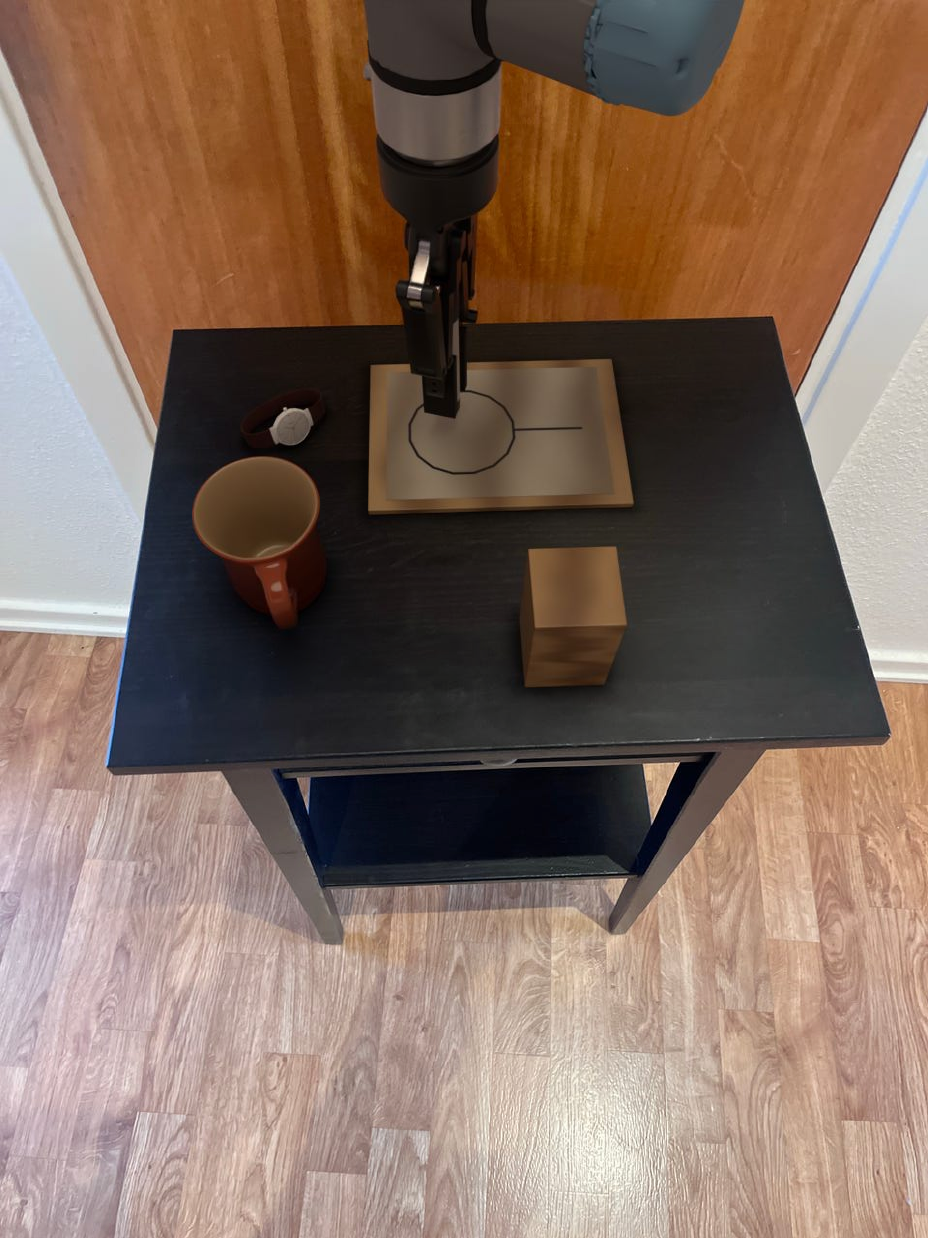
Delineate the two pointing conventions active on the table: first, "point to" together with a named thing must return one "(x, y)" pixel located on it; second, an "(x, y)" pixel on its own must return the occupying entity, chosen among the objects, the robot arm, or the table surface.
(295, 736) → the table surface
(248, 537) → the mug
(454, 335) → the marker
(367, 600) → the table surface
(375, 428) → the sketch pad
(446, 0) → the robot arm
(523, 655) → the wooden block
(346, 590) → the table surface
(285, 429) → the watch
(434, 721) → the table surface
